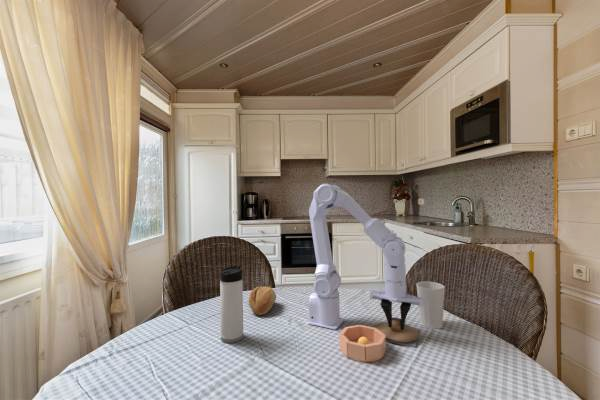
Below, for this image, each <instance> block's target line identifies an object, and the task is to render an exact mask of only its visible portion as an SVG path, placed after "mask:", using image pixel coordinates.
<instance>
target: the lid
mask: <svg viewBox="0 0 600 400" xmlns="http://www.w3.org/2000/svg"><path fill="white" fill-rule="evenodd" d="M381 322H382V323H381ZM381 322H380V323H377V324H375V326H374V328H377V329H378V330H379V331H381V332H382V333H383V334H384V335H385V336H386V339H387V340H391V341H396V342H412V341H416V340H417V341H418V340H419V338H420V331H419V332H418V330H417V329H415V328H416V327H414V326H412V325H409V324H406V323H405V326H404V330H401V317H400V318H399V317H392V318H391V328H390V327H389V326H388V321H381Z"/></svg>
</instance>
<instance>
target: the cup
mask: <svg viewBox="0 0 600 400" xmlns="http://www.w3.org/2000/svg"><path fill="white" fill-rule="evenodd" d="M415 285H416V292H417V297H422V298H423V302H424V305H423V307H420V306H419V305H418V312H419V323H420V325H422V326H423V327H425V328H428V329H434V330H436V329H438V330H439V329H441V328H443V327H444V325H443V324H444V322H443V319H444V318H443V317H444V303H445V302H444V301H445V291H446V290H445V288H446V286H445V285H443V284H441V283H439V282H434V281H418V282H417V283H416V284H415Z"/></svg>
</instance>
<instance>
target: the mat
mask: <svg viewBox="0 0 600 400" xmlns="http://www.w3.org/2000/svg"><path fill="white" fill-rule="evenodd" d="M382 322H383V321H381V322H380V323H382ZM414 328H415V329H417V330H418V332H419V333H420V328H417V327H414ZM386 342H388V343H392V344H396V345H402V346H404V347H405V346H406V347H409V348H410V347H411V348H417V342H418V339H417V340H416V341H412V342H396V341H391V340H387V339H386Z"/></svg>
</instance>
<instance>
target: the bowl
mask: <svg viewBox="0 0 600 400" xmlns="http://www.w3.org/2000/svg"><path fill="white" fill-rule="evenodd" d="M338 335H339V336H338V337H339V342H338V343H339V349H340V350H341V353H342V354H343V355H344V356H345V357H347V358H348V359H350V360H353V361H357V362H361V363H371V362H372V363H373V362H377V361H379V360H381V359H384V356H385V354H386V353H385V352H386V350H387V343H386V342H387V341H386V336H385V335H384V334H383V333H382V332H381V331H379V330H378V329H377V328H375V326H373V327H372V326H368V325H361V324H357V325H351V326H345V327H344V328H342V330H341V331H340V332H339V334H338ZM360 337H366V338H367V339H368V340H369V342H370V344H366V345H364V344H360V343H358V340H359V338H360Z"/></svg>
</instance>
